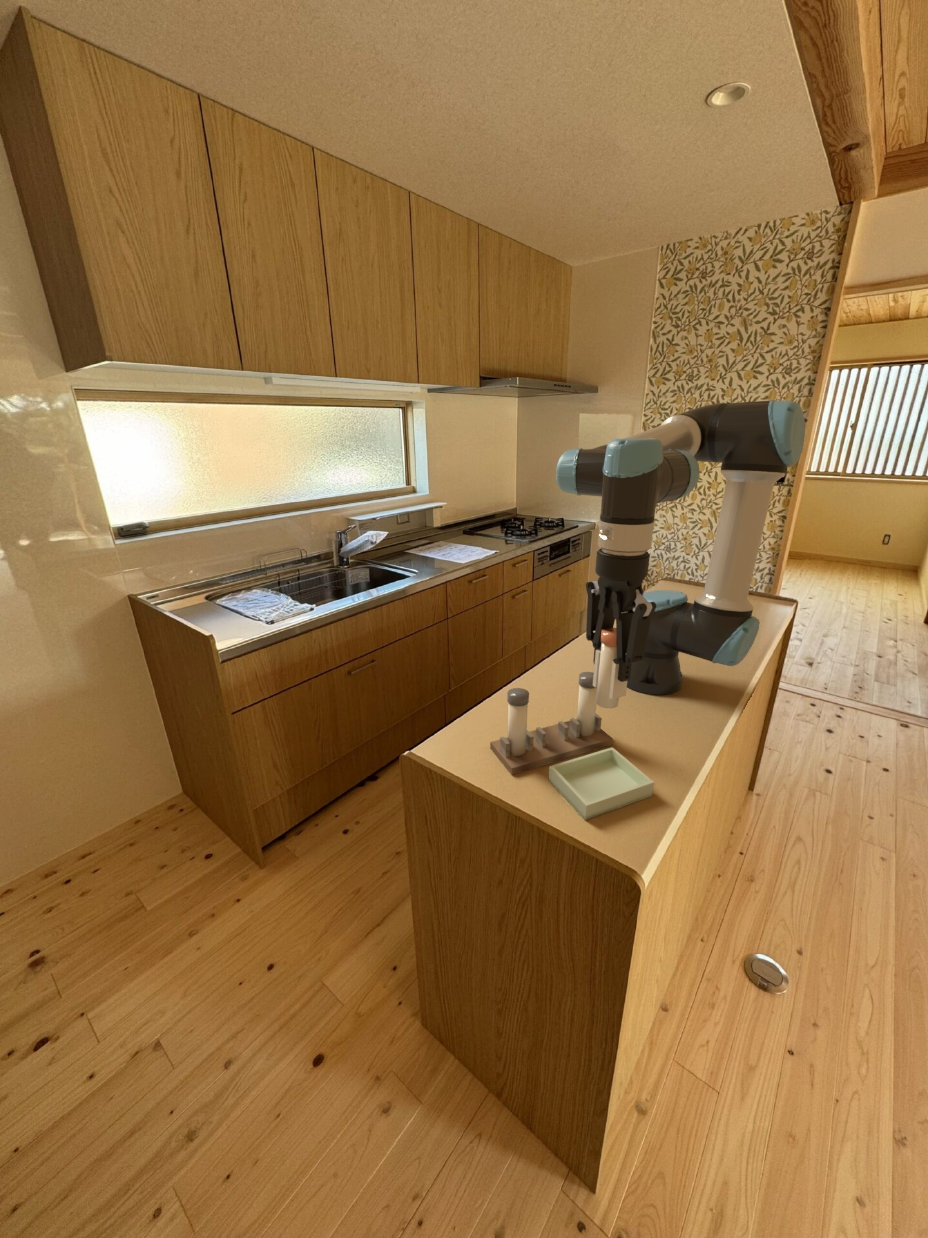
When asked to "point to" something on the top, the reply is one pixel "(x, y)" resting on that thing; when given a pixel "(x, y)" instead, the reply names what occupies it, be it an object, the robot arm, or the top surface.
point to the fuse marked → (606, 668)
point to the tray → (600, 782)
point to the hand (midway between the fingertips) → (608, 690)
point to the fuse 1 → (517, 720)
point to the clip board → (551, 745)
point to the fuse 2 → (586, 703)
